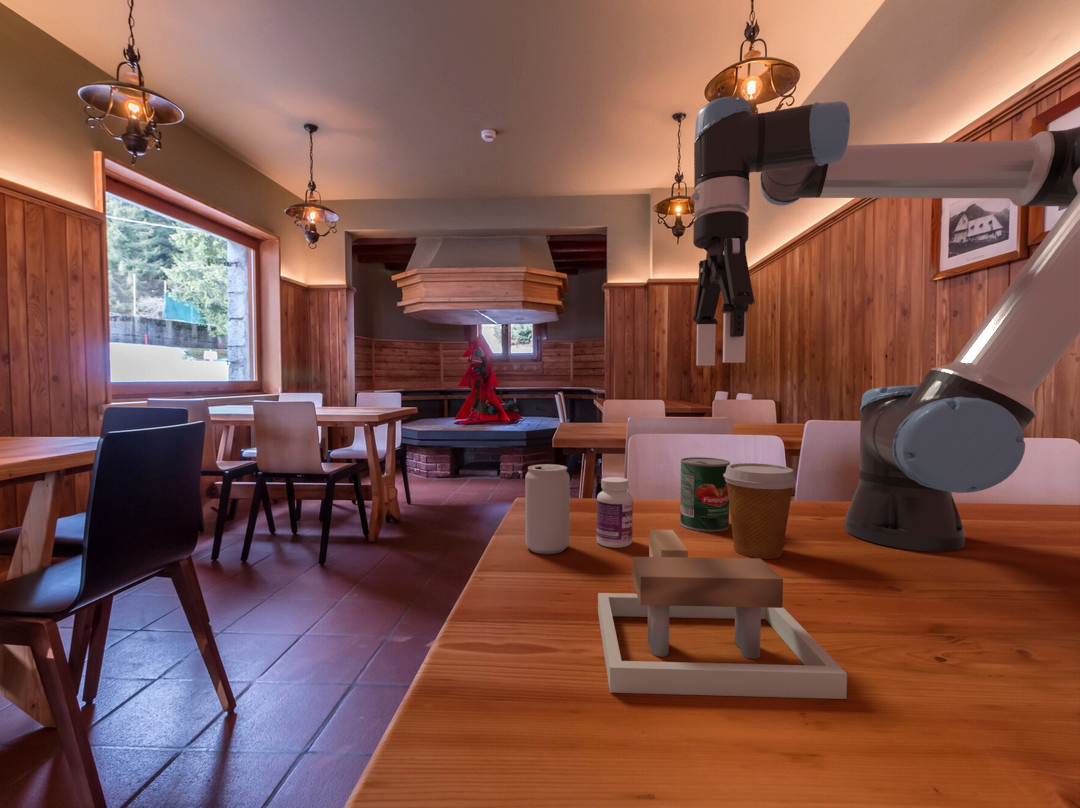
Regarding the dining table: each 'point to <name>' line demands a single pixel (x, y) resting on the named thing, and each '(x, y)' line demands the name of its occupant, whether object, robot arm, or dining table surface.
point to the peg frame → (718, 678)
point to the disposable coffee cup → (759, 507)
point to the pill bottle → (614, 513)
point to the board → (706, 582)
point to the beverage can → (547, 508)
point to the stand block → (665, 544)
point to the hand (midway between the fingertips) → (718, 364)
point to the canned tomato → (704, 494)
